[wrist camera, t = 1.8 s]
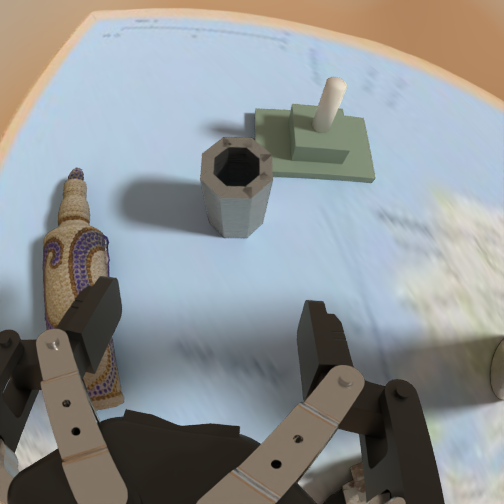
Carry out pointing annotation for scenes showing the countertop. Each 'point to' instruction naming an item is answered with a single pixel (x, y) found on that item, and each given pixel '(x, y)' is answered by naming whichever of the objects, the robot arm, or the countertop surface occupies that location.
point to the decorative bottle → (78, 279)
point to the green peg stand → (316, 139)
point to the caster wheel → (351, 489)
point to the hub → (236, 185)
